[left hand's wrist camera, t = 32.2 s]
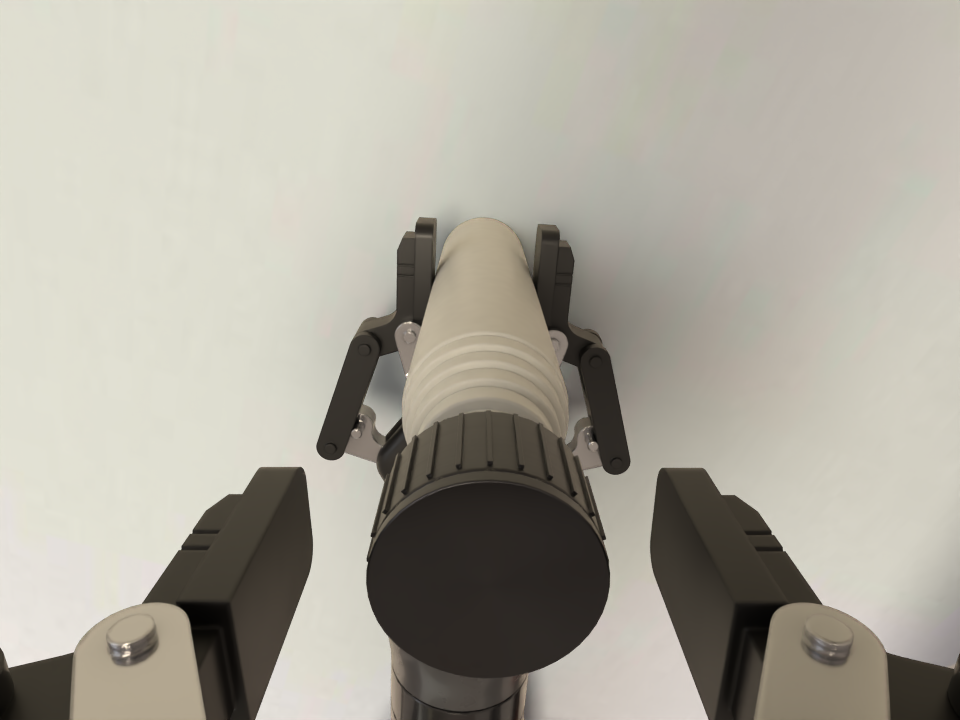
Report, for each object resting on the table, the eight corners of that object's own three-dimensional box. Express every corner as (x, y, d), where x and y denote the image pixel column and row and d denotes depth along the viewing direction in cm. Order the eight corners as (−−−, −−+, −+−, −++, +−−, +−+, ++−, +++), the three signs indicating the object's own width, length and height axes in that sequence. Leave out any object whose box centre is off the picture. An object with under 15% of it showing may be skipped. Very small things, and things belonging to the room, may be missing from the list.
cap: (379, 404, 12) (355, 475, 9) (597, 408, 12) (626, 478, 9) (387, 581, 13) (368, 680, 11) (582, 584, 13) (603, 683, 11)
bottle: (524, 217, 32) (621, 444, 10) (522, 298, 34) (602, 650, 12) (441, 217, 32) (355, 443, 10) (442, 298, 34) (370, 650, 12)
